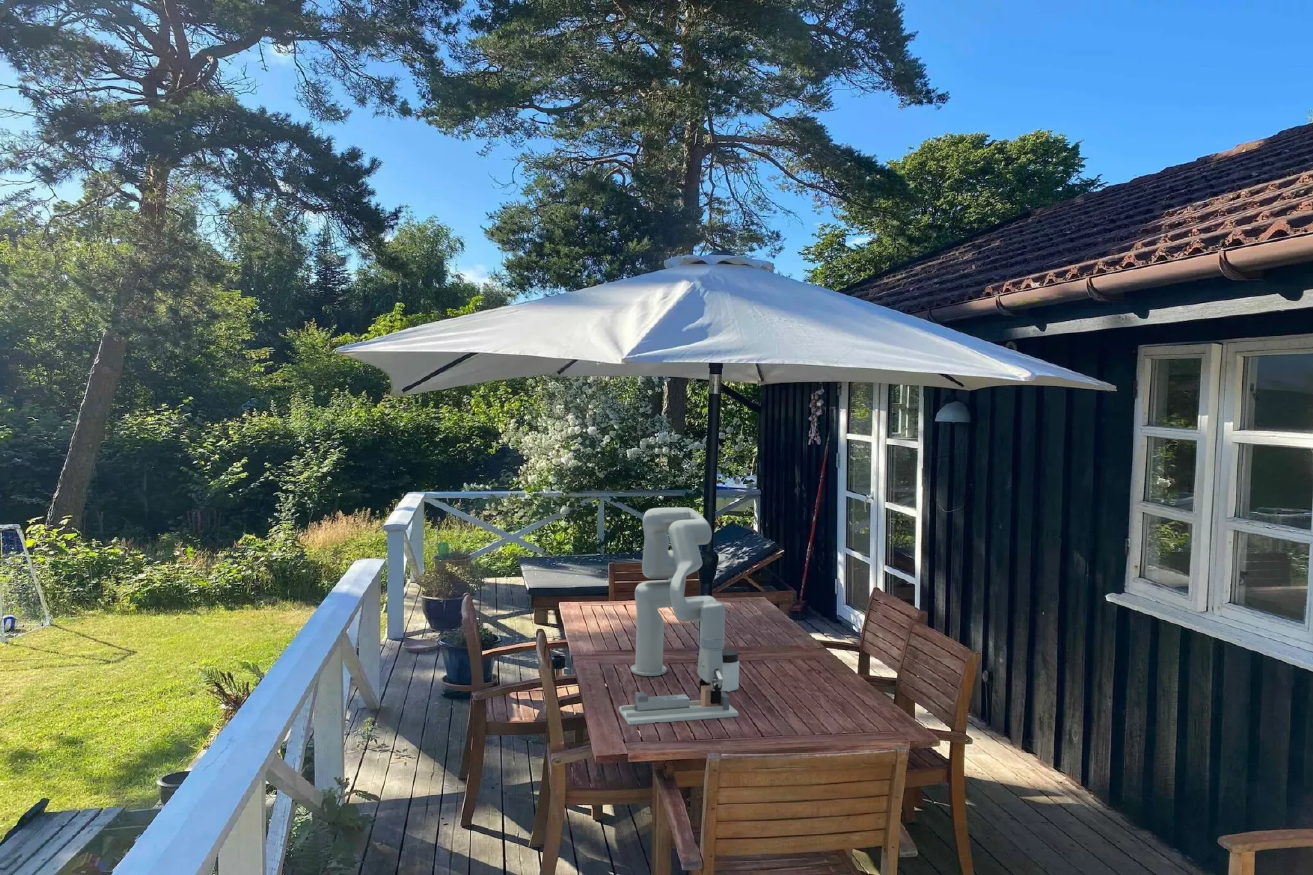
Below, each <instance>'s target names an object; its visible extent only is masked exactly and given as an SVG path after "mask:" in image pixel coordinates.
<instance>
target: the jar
mask: <svg viewBox="0 0 1313 875" xmlns="http://www.w3.org/2000/svg"><path fill="white" fill-rule="evenodd" d="M739 653H740V652H739V651H737V650H735V649H732V648H724V649H722V658H723V675H722V679H723V683H722V691H723V692H726V691H727V692H728V693H729V692H733V691H737V690H739V685H740V684H739V682H740V680H739V679H740V661H739ZM714 680H716V679H714ZM716 684H717V683H714V685H716Z"/></svg>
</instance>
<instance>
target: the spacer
mask: <svg viewBox="0 0 1313 875" xmlns="http://www.w3.org/2000/svg"><path fill="white" fill-rule="evenodd" d="M714 686H715V685H714ZM711 690H712V688H711V684H710V685H706V686H701V693H700V700H701V703H700V705H701V706H702V707H709V706H718V704H711V703H710V696H711Z"/></svg>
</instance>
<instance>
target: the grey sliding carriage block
mask: <svg viewBox="0 0 1313 875" xmlns="http://www.w3.org/2000/svg"><path fill="white" fill-rule="evenodd" d="M690 701H691V698H690V697H689V696H688V695H687V694H686V693H683V694H670V695H657V696H656V695H654V696H649V695H648V694H647V693H646V692H645V691H637V692H634V705H635V711H636V712H641V711H655V710H668V709H682V708H689V707H690Z"/></svg>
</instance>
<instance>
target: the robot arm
mask: <svg viewBox="0 0 1313 875" xmlns="http://www.w3.org/2000/svg"><path fill="white" fill-rule="evenodd" d="M642 529H643V537H644V541H643V552H642V562H641V571H642V575H643V576H644V577H645V578H648V579H653V580H645V581H642V582H640V583H638V584H637V586H635V589H634V601H635V608H636V629H635V630H636V631H635V632H636V633H635V636H636V637H635V658H634V661H635V664H632V665H631V666H630V672H631V673H632V674H635V675H636V676H637V675H638V676H643V677H658V676H661V675H662V676H663V675H664V674H667V671H668V670H667V669H668V668H667V667H666V665H664V664H663V660H664V659H663V657H664V634H665V633H664V629H665V627H664V626H665V625H664V624H665V621H664V619H663V616H662V614H661V613H660V612H659V610H658V609H663V608H664V609H665V608H672V610H673V614H674V615H675V618H676V619H677V620H678V621H680V622H682V623H686V622H698V621H699V642H698V643H699V645H698V646H699V647H698V648H699V650H698V658H697V659H698V660H697V672H696V673H697V675H698V676H699V683H698V685H699V689H698V692H699V694H701V686H706V685H711V688H712V690H711V696H710V703H711V704H720V703H721V691H722V683H723V679H722V675H723V658H722V649H725V630H726V629H725V628H726V627H725V626H726V606H725V604H724V602H721V601H719V600H717V599H716V598H715V597H714V596H711V595H694V596H685V591H686V590H685V589H686V582H687V581H686V580H687V576H689V575H691V574H693V573H695V572H697V571H698V570H700V568H701V567H702V566H703V564H704V563H703V558H702V555H701V554H702V553H701V551H700V547H699V546H702V545H708V544H709V543H710V542H711V541H712V538H713V537H712V535H713V532H712V528H711V525H710V524H709V522H708V521H707V519H705V517H704V516H703V515H701V514H700V513H698V511H696V510H695V509H693V508H691V507H684V506H683V507H675V506H674V507H653V508H649V509H647V510H646V511H645V513H644V515H643V518H642ZM670 545H671V546H670ZM669 547H671V550H669ZM654 579H656V580H654ZM661 579H663V580H661ZM714 679H716V680H714ZM714 683H717V684H716V685H715V686H714Z"/></svg>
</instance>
